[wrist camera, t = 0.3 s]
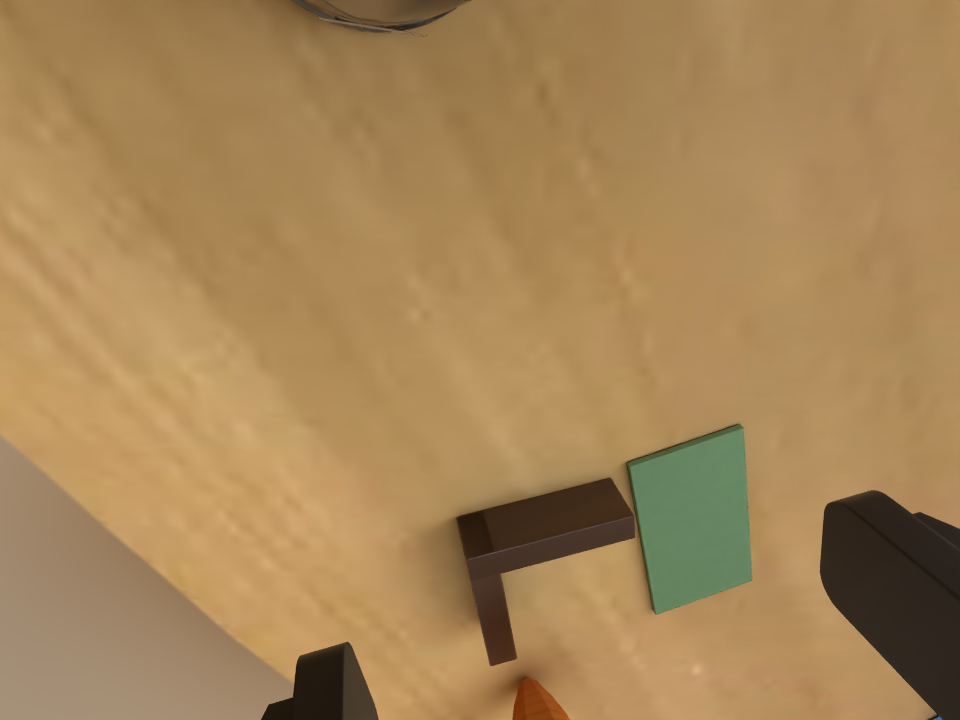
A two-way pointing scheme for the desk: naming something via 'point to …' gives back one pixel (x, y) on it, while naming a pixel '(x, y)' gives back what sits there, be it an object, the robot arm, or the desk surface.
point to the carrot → (536, 703)
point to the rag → (693, 518)
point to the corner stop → (535, 546)
